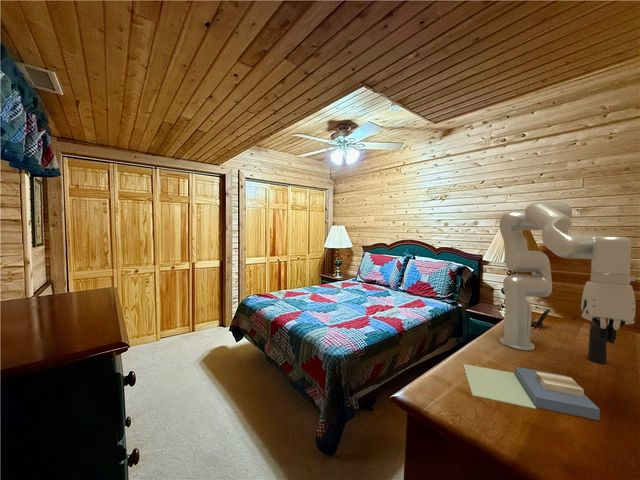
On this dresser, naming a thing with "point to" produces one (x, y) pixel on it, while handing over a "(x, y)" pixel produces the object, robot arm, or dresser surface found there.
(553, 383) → the birch block
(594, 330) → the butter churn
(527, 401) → the mat
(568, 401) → the slate blue tile
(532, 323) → the dark brown angled stand
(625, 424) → the dresser surface
